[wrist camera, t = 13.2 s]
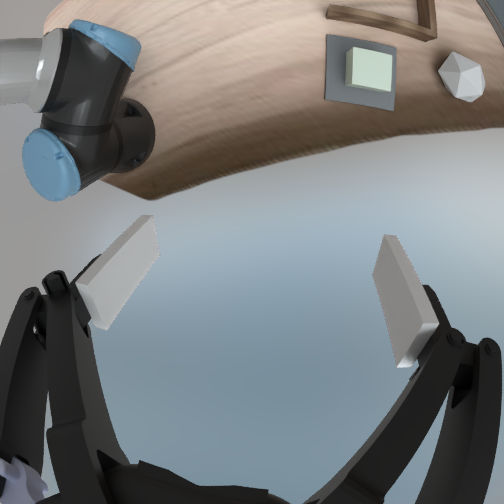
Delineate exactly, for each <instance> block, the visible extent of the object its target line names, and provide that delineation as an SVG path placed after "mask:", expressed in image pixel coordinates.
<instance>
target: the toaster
mask: <svg viewBox="0 0 504 504" xmlns="http://www.w3.org/2000/svg"><path fill="white" fill-rule="evenodd" d="M477 2H478V3H479V5H480V6H481V8H482V9H483V11H484V12H485V14H486V15H487V17H488V19H489V20H490V22H491V24H492V26H493V27H494V29H495V31H496V33H497V34H498V36H499V38H500V40H501V42H502V44H503V46H504V0H477Z"/></svg>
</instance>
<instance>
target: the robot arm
mask: <svg viewBox="0 0 504 504" xmlns="http://www.w3.org/2000/svg"><path fill="white" fill-rule="evenodd" d="M140 51H141V44H140V42H139V41H138V40H137V39H136V38H134V37H132V36H130V35H127V34H125V33H123V32H120V31H117V30H115V29H112V28H109V27H106V26H102V25H98V24H95V23H91V22H88V21H84V20H77V19H76V20H74V21H73V22H72V23H71V24H70V25H69V29H65V28H56V29H54V30H53V31H51V32H50V33H49V34H47V35H46V36H45V37H43V38H18V39H17V38H16V39H0V105H7V104H16V103H26V104H28V106H29V107H30V108H31V109H32V110H33V112H34V113H41V112H42V113H43V115H42V120H41V125H40V128H37V129H35V130H33V131H32V132H31V133H30V134H29V136H28V137H27V138H26V139H25V142H24V146H23V151H22V159H23V166H24V169H25V173H26V175H27V178H28V179H29V181H30V183H31V185H32V187H33V188H34V189H35V190H36V192H37V193H38V194H40V195H41V196H42V197H43V198H45V199H47V200H50V201H61V200H64V199H65V198H67V197H69V196H72V195H75V194H77V193H78V192H79V191H80V190H82V189H83V188H85V187H87V186H88V185H90V184H91V183H93V182H94V181H96V180H98V179H100V178H101V177H103V176H105V175H106V174H108V173H124V172H128V171H131V170H133V169H135V168H137V167H139V166H140V165H142V164H143V163H144V162H145V161H146V160H147V158H148V157H149V155H150V154H151V152H152V149H153V146H154V142H155V128H154V123H153V120H152V118H151V115H150V114H149V112H148V111H147V109H146V108H145V107H144V106H143V105H141V104H140V103H138V102H136V101H134V100H130V99H122V96H123V93H124V91H125V88H126V86H127V83H128V81H129V78H130V76H131V73H132V72H134V70H135V67H134V66H135V64H136V61H137V59H138V56H139V54H140ZM159 256H160V252H159V247H158V242H157V236H156V230H155V224H154V218H153V216H152V215H142V216H141V217H139V218H138V219H137V220H136V221H135V222H134V223H133V224H132V225H131V226H130V227H129V228H128V229H127V230H126V231H125V232H124V233H123V234H121V235H120V236H119V237H118V238H117V239H116V240H115V241H114V242H113V243H112V244H111V245H110V246H109V248H107V249H106V250H105V251H104V252H103V253H102V254H100V255H98V256H97V257H95V258H94V259H92V260H91V261H90V262H89V264H88V265H87V266H86V267H85V268H84V269H83V271H81V272H80V273H79V274H78V275H77V276H76V277H75V278H74V279H73V281H72V282H71V283H70V284H69V282H68V280H67V277H66V275H65V273H64V272H63V271H60V270H58V271H53V272H51V273H49V274H48V275H47V276H46V277H45V278H44V279H43V280H42V285H43V287H44V289H45V291H46V293H47V295H41V293H40V291H39V289H38V288H37V287H31V288H28V289H26V290H25V291H24V292H23V293H22V294H21V295H20V297H19V299H18V302H17V304H16V306H15V309H14V311H13V313H12V316H11V319H10V321H9V323H8V326H7V328H6V331H5V334H4V337H3V339H2V342H1V345H0V502H1V503H2V504H290V503H289V502H287V501H285V500H284V499H282V498H280V497H277V496H275V495H272V494H269V493H268V490H267V489H257V488H249V487H242V486H235V485H234V486H233V485H232V486H199V485H196V484H194V483H192V482H190V481H188V480H186V479H184V478H182V477H180V476H178V475H176V474H174V473H173V472H171V471H170V470H167V469H164V468H161V467H158V466H155V465H152V464H149V463H146V462H144V461H141V460H139V463H138V464H130V463H129V461H128V459H127V457H126V455H125V454H124V452H123V451H122V450H121V448H120V446H119V444H118V441H117V438H116V435H115V433H114V430H113V426H112V423H111V420H110V417H109V413H108V410H107V407H106V403H105V399H104V395H103V392H102V387H101V383H100V379H99V374H98V370H97V365H96V360H95V355H94V349H93V344H92V338H91V331H90V327H89V325H88V322H89V321H90V319H92V321H93V323H94V325H95V327H98V328H101V329H104V330H108V328H109V327H110V325H111V323H112V322H113V321H114V319H115V318H116V316H117V315H118V313H119V312H120V310H121V309H122V307H123V306H124V304H125V303H126V302H127V300H128V299H129V297H130V296H131V294H132V293H133V291H134V290H135V289H136V287H137V286H138V284H139V283H140V282H141V280H142V279H143V277H144V276H145V275H146V273H147V272H148V270H149V269H150V268H151V266H152V265H153V264H154V262H155V261H156V260H157V258H158V257H159ZM373 278H374V281H375V285H376V288H377V292H378V295H379V298H380V302H381V305H382V309H383V313H384V316H385V320H386V324H387V328H388V331H389V336H390V339H391V344H392V348H393V353H394V357H395V362H396V367H411V366H412V365H413V364H414V362H415V361H416V359H418V363H419V367H418V368H417V369H416V371H415V372H414V373H413V375H412V376H411V378H410V379H409V380H410V381H409V382H408V384H407V386H406V387H405V389H404V390H403V392H402V394H401V395H400V396H399V398H398V399H397V401H396V402H395V404H394V405H393V407H392V408H391V410H390V411H389V412H388V414H387V415H386V416H385V418H384V419H383V420H382V422H381V423H380V424H379V426H378V427H377V428H376V430H375V431H374V432H373V433H372V435H371V436H370V437H369V438H368V439H367V441H366V442H365V443H364V444H363V446H362V447H361V448H360V449H359V450H358V451H357V453H356V454H355V455H354V456H353V457H352V458H351V459H350V460H349V461H348V462H347V464H346V465H345V466H344V467H343V468H342V469H341V470H340V471H339V472H338V473H337V474H336V475H335V476H334V477H333V478H332V479H331V480H330V481H329V482H328V483H327V484H326V485H325V486H324V487H323V488H321V489H320V490H319V491H317V492H316V493H315V494H314V495H312V496H311V497H310V498H309V499H308V500H307V501H305V502H304V503H303V504H383V503H384V497H385V495H386V493H387V492H388V490H389V489H390V488H391V487H392V485H393V484H394V483H395V481H396V480H397V479H398V477H399V476H400V475H401V473H402V472H403V470H404V469H405V468H406V466H407V465H408V463H409V462H410V460H411V459H412V457H413V456H414V454H415V452H416V451H417V449H418V448H419V446H420V445H421V443H422V441H423V439H424V438H425V436H426V434H427V433H428V431H429V429H430V427H431V425H432V423H433V422H434V420H435V418H436V416H437V414H438V412H439V410H440V408H441V406H442V404H443V402H444V400H445V398H446V396H447V393H448V391H449V395H448V400H447V405H446V410H445V415H444V419H443V423H442V428H441V431H440V435H439V439H438V442H437V446H436V449H435V452H434V455H433V459H432V461H431V464H430V467H429V470H428V473H427V476H426V478H425V481H424V483H423V486H422V488H421V491H420V493H419V495H418V498H417V500H416V502H415V504H483V502H484V499H485V495H486V492H487V489H488V485H489V482H490V478H491V473H492V469H493V464H494V459H495V454H496V448H497V442H498V435H499V427H500V416H501V400H502V360H501V350H500V347H499V346H498V344H497V343H496V342H495V341H494V340H492V339H491V338H483V339H482V341H480V343H479V344H478V345H476V344H472V343H469V342H466V340H465V337H464V336H463V334H462V333H461V332H460V331H458V330H457V329H455V328H451V326H450V323H449V321H448V319H447V316H446V314H445V312H444V310H443V308H442V307H441V304H440V302H439V299H438V297H437V295H436V293H435V292H434V291H433V290H432V289H431V288H430V286H429V285H422V284H421V282H420V280H419V278H418V276H417V274H416V272H415V270H414V268H413V266H412V264H411V262H410V260H409V258H408V257H407V255H406V253H405V251H404V249H403V247H402V245H401V244H400V242H399V240H398V238H397V237H396V236H393V235H385V234H384V236H383V240H382V244H381V247H380V251H379V254H378V258H377V261H376V265H375V268H374V271H373ZM33 327H35V329H36V332H35V333H34V331H33ZM48 391H49V401H50V409H51V416H52V428H49V429H47V432H46V436H47V443H48V448H49V453H50V458H51V462H52V466H53V470H54V474H55V478H56V481H57V485H58V488H59V491H60V493H58V494H55V495H53V496H50V497H48V498H44V495H43V494H46V493H47V492H48V487H47V484H46V483H45V482H44V481H42V479H41V473H42V467H43V454H44V426H45V413H46V403H47V394H48Z"/></svg>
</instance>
